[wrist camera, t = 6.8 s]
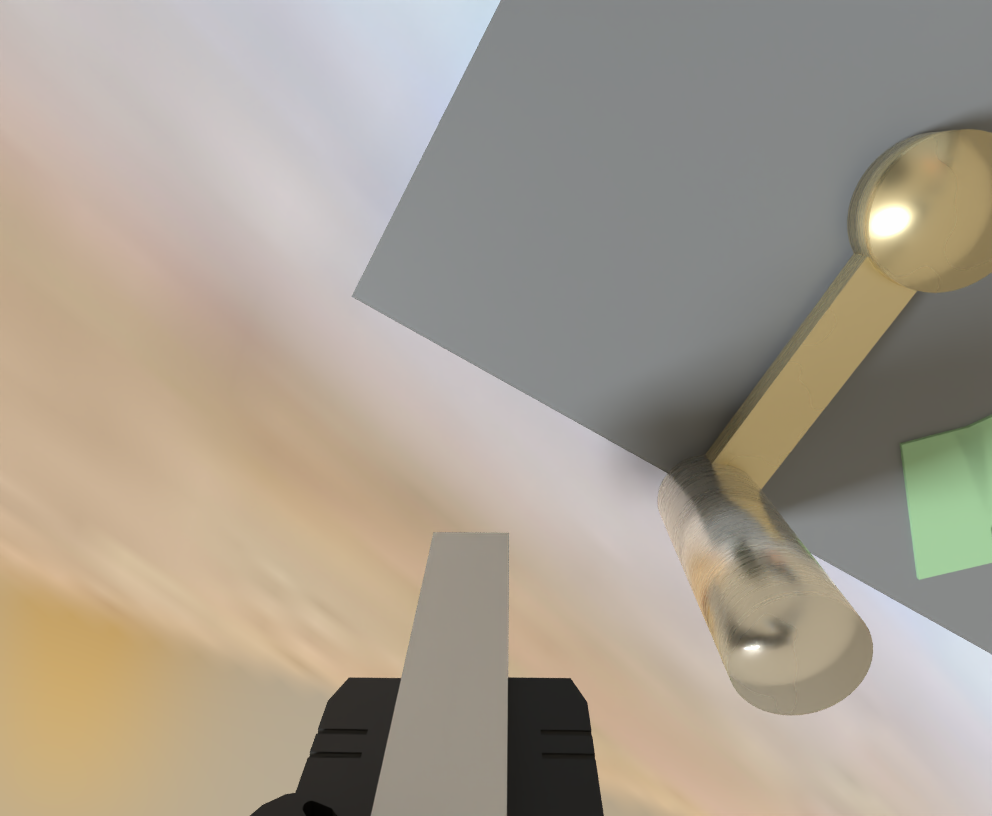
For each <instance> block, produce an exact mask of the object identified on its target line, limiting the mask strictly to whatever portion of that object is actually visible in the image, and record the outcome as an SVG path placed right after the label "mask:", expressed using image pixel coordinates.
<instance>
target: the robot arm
mask: <svg viewBox="0 0 992 816" xmlns="http://www.w3.org/2000/svg"><path fill="white" fill-rule="evenodd" d="M508 610H509V533H468V532H434V533H433V538H432V542H431V547H430V551H429V556H428V560H427V565H426V569H425V574H424V578H423V583H422V587H421V592H420V596H419V601H418V605H417V610H416V614H415V619H414V623H413V628H412V632H411V637H410V641H409V646H408V650H407V655H406V659H405V664H404V668H403V673H402V677H401V678H348V679H347V681H346V682H345V683H344V684H343V685H342V686H341V687H340V688H339V689H338V690H337V692H336V693H335V694H334V695H333V696H332V697H331V698H330V699H329V700H328V702H327V705H326V708H325V711H324V713H323V716H322V719H321V722H320V725H319V728H318V734H316V736H315V739H314V742H313V745H312V747H311V751H310V757H309V758H308V759H307V762H306V764H305V767H304V770H303V773H302V776H301V779H300V782H299V785H298V788H297V790H296V793H292V794H286V795H283V796H281V797H279V798H277V799H275V800H272V801H270V802H268V803H266V804H264V805H262V806H261V807H260V808H258V809H257V810H256V811H255V812H254V813H253V814H251V815H250V816H604V815H603V808H602V801H601V794H600V787H599V780H598V773H597V766H596V760H595V753H594V746H593V739H592V736H591V725H590V718H589V711H588V704H587V701H586V700H585V698H584V697H583V696H582V694H581V693H580V691H579V690H578V688H577V687H576V685H575V684H574V683H573V681H572V680H571V678H508Z"/></svg>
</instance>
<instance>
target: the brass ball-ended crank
mask: <svg viewBox="0 0 992 816" xmlns="http://www.w3.org/2000/svg"><path fill="white" fill-rule="evenodd" d="M847 232H848V237H849V242H850V245H851V248H852V250H853V252H854V254H853V255H852V257H851V258H850V259H849V261H848V262H847V263H846V265H845V266H844V267H843V269H842V270H841V271H840V273H839V274H838V276H837V277H836V278H835V280H834V281H833V282H832V284H831V285H830V286H829V288H828V289H827V290H826V292H825V293H824V294H823V296H822V297H821V299H820V300H819V301H818V303H817V304H816V305H815V307H814V308H813V309H812V311H811V312H810V313H809V315H808V316H807V317H806V319H805V320H804V321H803V323H802V324H801V326H800V327H799V328H798V330H797V331H796V332H795V334H794V335H793V336H792V338H791V339H790V340H789V342H788V343H787V344H786V346H785V347H784V349H783V350H782V351H781V353H780V354H779V355H778V357H777V358H776V359H775V361H774V362H773V363H772V365H771V366H770V367H769V369H768V370H767V372H766V373H765V374H764V376H763V377H762V378H761V380H760V381H759V382H758V384H757V385H756V386H755V388H754V389H753V390H752V392H751V393H750V394H749V396H748V397H747V399H746V400H745V401H744V403H743V404H742V405H741V407H740V408H739V409H738V411H737V412H736V413H735V415H734V416H733V417H732V419H731V420H730V422H729V423H728V424H727V426H726V427H725V428H724V430H723V431H722V432H721V434H720V435H719V436H718V438H717V439H716V440H715V442H714V443H713V444H712V446H711V447H710V449H709V450H708V451H707V453H706V454H702V455H697V456H693V457H690V458H688V459H685V460H684V461H682V462H680V463H679V464H677V465H676V466H675V467H674V468H672V469H671V470H670V471H669V473H668V474H667V475H666V476H665V478H664V480H663V481H662V483H661V486H660V488H659V492H658V509H659V512H660V515H661V518H662V520H663V522H664V525H665V527H666V529H667V532H668V534H669V536H670V539H671V541H672V543H673V546H674V548H675V551H676V553H677V555H678V558H679V560H680V562H681V565H682V567H683V569H684V572H685V574H686V576H687V579H688V581H689V583H690V586H691V588H692V591H693V593H694V595H695V598H696V600H697V602H698V605H699V607H700V609H701V612H702V614H703V616H704V619H705V621H706V624H707V626H708V628H709V631H710V633H711V635H712V638H713V640H714V642H715V645H716V647H717V649H718V652H719V654H720V656H721V659H722V661H723V664H724V666H725V668H726V671H727V673H728V675H729V678H730V680H731V682H732V684H733V686H734V688H735V689H736V691H737V692H738V693H739V694H740V696H741V697H742V698H743V699H745V700H746V701H747V702H748V703H750V704H751V705H753V706H755V707H757V708H759V709H761V710H763V711H767V712H770V713H774V714H780V715H803V714H809V713H814V712H818V711H820V710H823V709H826V708H828V707H831V706H833V705H835V704H836V703H838V702H840V701H841V700H843V699H844V698H846V697H847V696H848V695H850V694H851V693H852V692H853V691H854V690H855V689H856V688H857V687H858V686H859V684H860V683H861V682H862V680H863V679H864V677H865V676H866V674H867V672H868V670H869V668H870V664H871V661H872V655H873V643H872V638H871V635H870V632H869V630H868V628H867V626H866V624H865V623H864V621H863V620H862V619H861V618H860V616H859V615H858V614H857V612H856V611H855V610H854V609H853V607H852V606H851V605H850V603H849V602H848V601H847V600H846V598H845V597H844V596H843V594H842V593H841V592H840V591H839V589H838V588H837V587H836V585H835V584H834V583H833V581H832V580H831V579H830V578H829V576H828V575H827V574H826V572H825V571H824V570H823V569H822V567H821V566H820V565H819V563H818V562H817V561H816V560H815V558H814V557H813V556H812V554H811V553H810V552H809V551H808V549H807V548H806V547H805V545H804V544H803V543H802V542H801V540H800V539H799V538H798V536H797V535H796V534H795V533H794V531H793V530H792V529H791V527H790V526H789V525H788V524H787V522H786V521H785V520H784V518H783V517H782V516H781V514H780V513H779V512H778V511H777V509H776V508H775V507H774V505H773V504H772V503H771V502H770V500H769V499H768V498H767V496H766V495H765V494H764V493H763V491H762V490H761V489H762V488H763V487H764V485H765V484H766V483H767V481H768V480H769V479H770V478H771V476H772V475H773V474H774V473H775V471H776V470H777V469H778V467H779V466H780V465H781V464H782V462H783V461H784V460H785V459H786V457H787V456H788V455H789V453H790V452H791V451H792V450H793V448H794V447H795V446H796V445H797V443H798V442H799V441H800V439H801V438H802V437H803V436H804V434H805V433H806V432H807V431H808V429H809V428H810V427H811V425H812V424H813V423H814V422H815V420H816V419H817V418H818V417H819V415H820V414H821V413H822V411H823V410H824V409H825V408H826V406H827V405H828V404H829V403H830V401H831V400H832V399H833V397H834V396H835V395H836V394H837V392H838V391H839V390H840V389H841V387H842V386H843V385H844V383H845V382H846V381H847V380H848V378H849V377H850V376H851V375H852V373H853V372H854V371H855V369H856V368H857V367H858V366H859V364H860V363H861V362H862V361H863V359H864V358H865V357H866V355H867V354H868V353H869V352H870V350H871V349H872V348H873V347H874V345H875V344H876V343H877V341H878V340H879V339H880V338H881V336H882V335H883V334H884V333H885V331H886V330H887V329H888V327H889V326H890V325H891V324H892V322H893V321H894V320H895V319H896V317H897V316H898V315H899V313H900V312H901V311H902V310H903V308H904V307H905V306H906V304H907V303H908V302H909V301H910V299H911V298H912V297H913V296H914V294H915V293H916V292H917V291H921V292H928V293H941V292H949V291H954V290H957V289H961V288H964V287H967V286H969V285H971V284H973V283H976V282H977V281H979V280H981V279H983V278H984V277H986V276H987V275H989V274H990V273H991V272H992V133H990V132H987V131H982V130H975V129H962V130H950V131H940V132H929V133H924V134H919V135H915V136H913V137H910V138H907V139H905V140H903V141H901V142H899V143H897V144H895V145H894V146H892V147H890V148H889V149H887V150H886V151H885V152H884V153H882V154H881V155H880V156H879V157H878V158H877V159H876V160H875V161H874V162H873V163H872V164H871V165H870V166H869V167H868V169H867V170H866V171H865V172H864V174H863V176H862V177H861V179H860V180H859V182H858V184H857V186H856V188H855V190H854V192H853V195H852V198H851V201H850V205H849V209H848V217H847Z"/></svg>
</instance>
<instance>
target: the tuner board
mask: <svg viewBox="0 0 992 816" xmlns="http://www.w3.org/2000/svg"><path fill="white" fill-rule="evenodd" d="M962 129H975V130H982V131H987V132H990V133H992V0H501V1H500V3H499V5H498V7H497V9H496V11H495V13H494V15H493V17H492V19H491V21H490V23H489V25H488V27H487V29H486V31H485V33H484V35H483V37H482V39H481V41H480V43H479V45H478V47H477V49H476V51H475V53H474V55H473V57H472V59H471V61H470V63H469V65H468V67H467V69H466V71H465V73H464V75H463V77H462V79H461V81H460V83H459V85H458V87H457V89H456V91H455V93H454V95H453V97H452V99H451V101H450V102H449V104H448V106H447V108H446V110H445V112H444V114H443V116H442V118H441V120H440V122H439V124H438V126H437V128H436V130H435V132H434V134H433V136H432V138H431V140H430V142H429V144H428V146H427V148H426V150H425V152H424V154H423V156H422V158H421V160H420V162H419V164H418V166H417V168H416V170H415V172H414V174H413V176H412V178H411V180H410V182H409V184H408V186H407V188H406V190H405V192H404V194H403V196H402V198H401V200H400V202H399V204H398V206H397V208H396V210H395V212H394V214H393V216H392V218H391V220H390V222H389V223H388V225H387V227H386V229H385V231H384V233H383V235H382V237H381V239H380V241H379V243H378V245H377V247H376V249H375V251H374V253H373V255H372V257H371V259H370V261H369V263H368V265H367V267H366V269H365V271H364V273H363V275H362V277H361V279H360V281H359V283H358V285H357V287H356V289H355V291H354V293H353V295H352V297H353V298H355V299H357V300H359V301H361V302H362V303H364V304H366V305H368V306H370V307H371V308H373V309H375V310H377V311H379V312H380V313H382V314H384V315H386V316H387V317H389V318H391V319H393V320H395V321H396V322H398V323H400V324H402V325H404V326H405V327H407V328H409V329H411V330H413V331H414V332H416V333H418V334H420V335H421V336H423V337H425V338H427V339H429V340H430V341H432V342H434V343H436V344H438V345H439V346H441V347H443V348H445V349H447V350H448V351H450V352H452V353H454V354H455V355H457V356H459V357H461V358H463V359H464V360H466V361H468V362H470V363H472V364H473V365H475V366H477V367H479V368H481V369H482V370H484V371H486V372H488V373H489V374H491V375H493V376H495V377H497V378H498V379H500V380H502V381H504V382H506V383H507V384H509V385H511V386H513V387H515V388H516V389H518V390H520V391H522V392H523V393H525V394H527V395H529V396H531V397H532V398H534V399H536V400H538V401H540V402H541V403H543V404H545V405H547V406H549V407H550V408H552V409H554V410H556V411H557V412H559V413H561V414H563V415H565V416H566V417H568V418H570V419H572V420H574V421H575V422H577V423H579V424H581V425H583V426H584V427H586V428H588V429H590V430H591V431H593V432H595V433H597V434H599V435H600V436H602V437H604V438H606V439H608V440H609V441H611V442H613V443H615V444H617V445H618V446H620V447H622V448H624V449H625V450H627V451H629V452H631V453H633V454H634V455H636V456H638V457H640V458H642V459H643V460H645V461H647V462H649V463H651V464H652V465H654V466H656V467H658V468H659V469H661V470H663V471H665V472H667V473H669V471H670V470H671V469H672V468H674V467H675V466H676V465H677V464H679V463H680V462H682V461H684V460H685V459H688V458H690V457H693V456H697V455H702V454H706V453H707V451H708V450H709V449H710V447H711V446H712V444H713V443H714V442H715V440H716V439H717V438H718V436H719V435H720V434H721V432H722V431H723V430H724V428H725V427H726V426H727V424H728V423H729V422H730V420H731V419H732V417H733V416H734V415H735V413H736V412H737V411H738V409H739V408H740V407H741V405H742V404H743V403H744V401H745V400H746V399H747V397H748V396H749V394H750V393H751V392H752V390H753V389H754V388H755V386H756V385H757V384H758V382H759V381H760V380H761V378H762V377H763V376H764V374H765V373H766V372H767V370H768V369H769V367H770V366H771V365H772V363H773V362H774V361H775V359H776V358H777V357H778V355H779V354H780V353H781V351H782V350H783V349H784V347H785V346H786V344H787V343H788V342H789V340H790V339H791V338H792V336H793V335H794V334H795V332H796V331H797V330H798V328H799V327H800V326H801V324H802V323H803V321H804V320H805V319H806V317H807V316H808V315H809V313H810V312H811V311H812V309H813V308H814V307H815V305H816V304H817V303H818V301H819V300H820V299H821V297H822V296H823V294H824V293H825V292H826V290H827V289H828V288H829V286H830V285H831V284H832V282H833V281H834V280H835V278H836V277H837V276H838V274H839V273H840V271H841V270H842V269H843V267H844V266H845V265H846V263H847V262H848V261H849V259H850V258H851V257H852V255H853V254H854V252H853V250H852V248H851V245H850V242H849V237H848V232H847V217H848V209H849V205H850V201H851V198H852V195H853V192H854V190H855V188H856V186H857V184H858V182H859V180H860V179H861V177H862V176H863V174H864V172H865V171H866V170H867V169H868V167H869V166H870V165H871V164H872V163H873V162H874V161H875V160H876V159H877V158H878V157H879V156H880V155H881V154H882V153H884V152H885V151H886V150H887V149H889V148H890V147H892V146H894V145H895V144H897V143H899V142H901V141H903V140H905V139H907V138H910V137H913V136H915V135H919V134H924V133H929V132H940V131H950V130H962ZM761 490H762V491H763V493H764V494H765V495H766V496H767V498H768V499H769V500H770V502H771V503H772V504H773V505H774V507H775V508H776V509H777V511H778V512H779V513H780V514H781V516H782V517H783V518H784V520H785V521H786V522H787V524H788V525H789V526H790V527H791V529H792V530H793V531H794V533H795V534H796V535H797V536H798V538H799V539H800V540H801V542H802V543H803V544H804V545H805V547H806V548H807V549H808V551H809V552H810V553H812V554H813V555H815V556H817V557H819V558H820V559H822V560H824V561H826V562H828V563H829V564H831V565H833V566H835V567H837V568H838V569H840V570H842V571H844V572H846V573H847V574H849V575H851V576H853V577H854V578H856V579H858V580H860V581H862V582H863V583H865V584H867V585H869V586H871V587H872V588H874V589H876V590H878V591H880V592H881V593H883V594H885V595H887V596H888V597H890V598H892V599H894V600H896V601H897V602H899V603H901V604H903V605H905V606H906V607H908V608H910V609H912V610H914V611H915V612H917V613H919V614H921V615H922V616H924V617H926V618H928V619H930V620H931V621H933V622H935V623H937V624H939V625H940V626H942V627H944V628H946V629H948V630H949V631H951V632H953V633H955V634H956V635H958V636H960V637H962V638H964V639H965V640H967V641H969V642H971V643H973V644H974V645H976V646H978V647H980V648H982V649H983V650H985V651H987V652H989V653H990V654H992V272H991V273H990V274H989V275H987V276H986V277H984V278H983V279H981V280H979V281H977V282H976V283H973V284H971V285H969V286H967V287H964V288H961V289H957V290H954V291H949V292H941V293H928V292H921V291H917V292H916V293H915V294H914V296H913V297H912V298H911V299H910V301H909V302H908V303H907V304H906V306H905V307H904V308H903V310H902V311H901V312H900V313H899V315H898V316H897V317H896V319H895V320H894V321H893V322H892V324H891V325H890V326H889V327H888V329H887V330H886V331H885V333H884V334H883V335H882V336H881V338H880V339H879V340H878V341H877V343H876V344H875V345H874V347H873V348H872V349H871V350H870V352H869V353H868V354H867V355H866V357H865V358H864V359H863V361H862V362H861V363H860V364H859V366H858V367H857V368H856V369H855V371H854V372H853V373H852V375H851V376H850V377H849V378H848V380H847V381H846V382H845V383H844V385H843V386H842V387H841V389H840V390H839V391H838V392H837V394H836V395H835V396H834V397H833V399H832V400H831V401H830V403H829V404H828V405H827V406H826V408H825V409H824V410H823V411H822V413H821V414H820V415H819V417H818V418H817V419H816V420H815V422H814V423H813V424H812V425H811V427H810V428H809V429H808V431H807V432H806V433H805V434H804V436H803V437H802V438H801V439H800V441H799V442H798V443H797V445H796V446H795V447H794V448H793V450H792V451H791V452H790V453H789V455H788V456H787V457H786V459H785V460H784V461H783V462H782V464H781V465H780V466H779V467H778V469H777V470H776V471H775V473H774V474H773V475H772V476H771V478H770V479H769V480H768V481H767V483H766V484H765V485H764V487H763V488H762V489H761Z"/></svg>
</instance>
